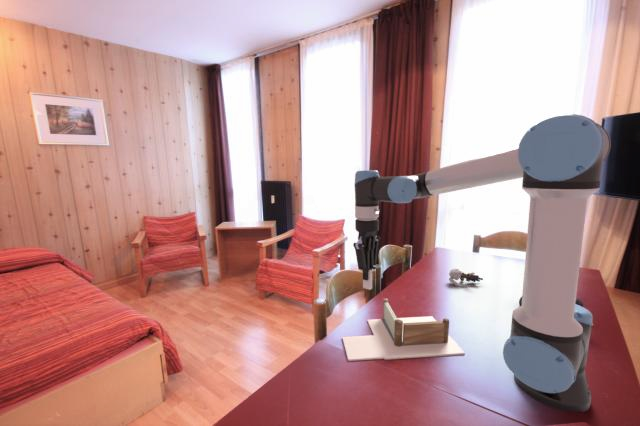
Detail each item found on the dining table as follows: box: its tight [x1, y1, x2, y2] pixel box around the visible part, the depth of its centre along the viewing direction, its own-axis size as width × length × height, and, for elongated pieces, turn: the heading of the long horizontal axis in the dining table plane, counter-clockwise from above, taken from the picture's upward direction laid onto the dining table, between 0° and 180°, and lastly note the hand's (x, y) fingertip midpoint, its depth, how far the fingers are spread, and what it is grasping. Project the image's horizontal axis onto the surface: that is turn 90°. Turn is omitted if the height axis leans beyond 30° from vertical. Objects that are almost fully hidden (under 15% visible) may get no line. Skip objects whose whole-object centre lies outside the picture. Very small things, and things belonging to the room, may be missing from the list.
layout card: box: [341, 315, 466, 362], centre depth 95 cm, size 21×34×1 cm, turn 95°
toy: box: [448, 268, 484, 288], centre depth 134 cm, size 11×8×15 cm
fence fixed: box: [394, 318, 450, 347], centre depth 91 cm, size 2×17×8 cm, turn 95°
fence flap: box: [382, 298, 398, 338], centre depth 99 cm, size 14×2×7 cm, turn 2°
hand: (367, 288), depth 98 cm, fingers closed
